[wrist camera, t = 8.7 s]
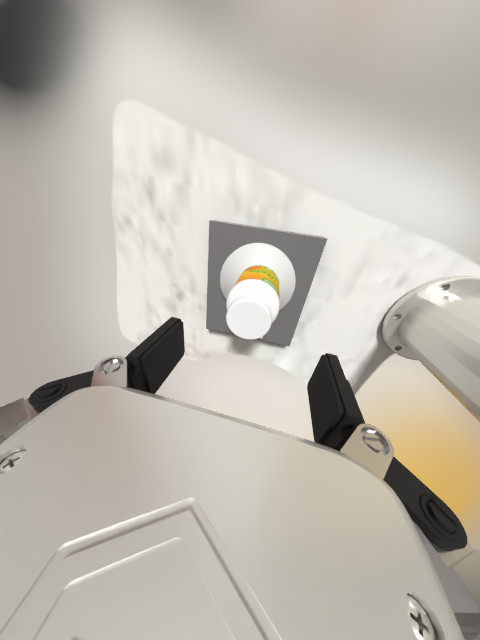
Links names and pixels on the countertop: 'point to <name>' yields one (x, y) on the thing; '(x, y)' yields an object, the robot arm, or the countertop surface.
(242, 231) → the scale
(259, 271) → the supplement bottle
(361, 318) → the countertop surface
